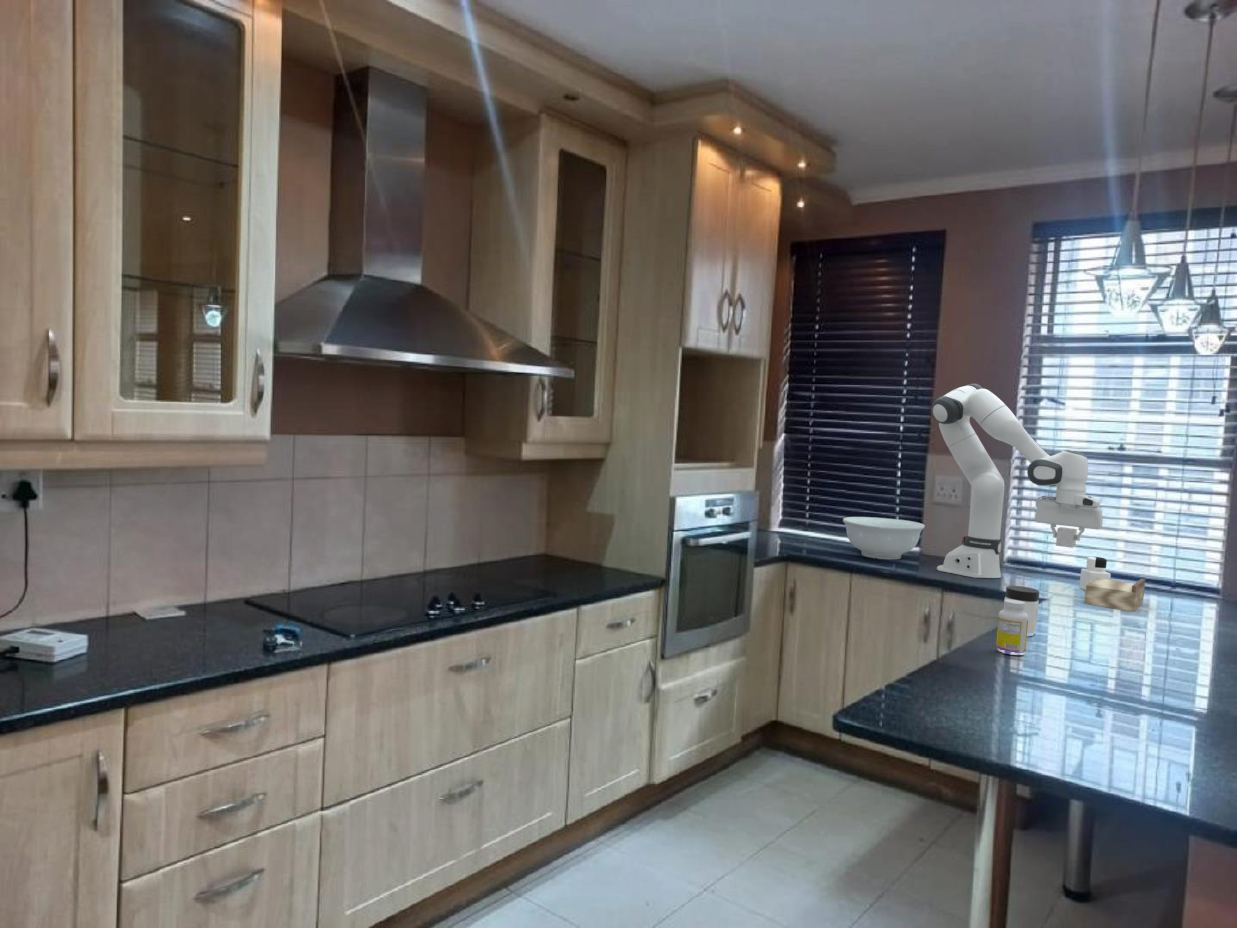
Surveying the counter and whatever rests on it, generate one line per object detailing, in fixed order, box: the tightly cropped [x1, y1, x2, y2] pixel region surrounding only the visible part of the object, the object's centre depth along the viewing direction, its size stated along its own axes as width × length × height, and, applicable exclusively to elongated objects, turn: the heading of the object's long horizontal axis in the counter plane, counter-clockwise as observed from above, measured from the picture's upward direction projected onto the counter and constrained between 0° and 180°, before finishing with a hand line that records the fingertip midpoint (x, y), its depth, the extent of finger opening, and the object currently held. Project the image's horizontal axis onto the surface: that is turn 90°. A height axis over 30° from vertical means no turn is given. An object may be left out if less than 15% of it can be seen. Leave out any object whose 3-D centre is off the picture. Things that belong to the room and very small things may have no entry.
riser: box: [1083, 578, 1146, 613], centre depth 281 cm, size 14×20×8 cm
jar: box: [1003, 585, 1040, 633], centre depth 231 cm, size 9×8×12 cm
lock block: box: [1055, 526, 1078, 549], centre depth 290 cm, size 5×5×6 cm
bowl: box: [842, 516, 926, 561], centre depth 350 cm, size 32×32×15 cm
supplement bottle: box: [995, 599, 1028, 653], centre depth 209 cm, size 7×7×13 cm
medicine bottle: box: [1079, 556, 1112, 592], centre depth 301 cm, size 7×7×12 cm
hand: (1066, 539), depth 290 cm, fingers closed on lock block, 5 cm apart
